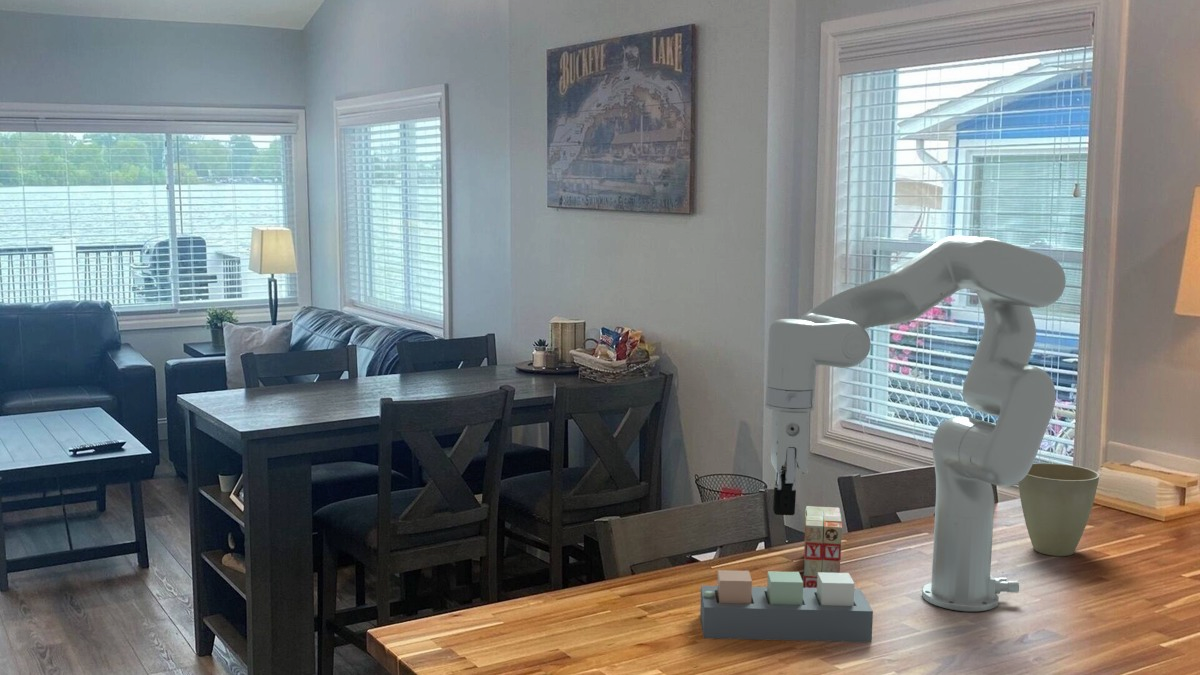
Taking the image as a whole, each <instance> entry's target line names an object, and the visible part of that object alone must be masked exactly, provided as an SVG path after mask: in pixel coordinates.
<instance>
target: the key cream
mask: <svg viewBox="0 0 1200 675" xmlns="http://www.w3.org/2000/svg"><path fill="white" fill-rule="evenodd" d="M854 589H855V582H854V580H853V578H852V576H851V575H850V572H840V573H825V572H818V574H817V601H818V603H819V605H831V606H854Z"/></svg>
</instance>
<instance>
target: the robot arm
mask: <svg viewBox="0 0 1200 675" xmlns="http://www.w3.org/2000/svg"><path fill="white" fill-rule="evenodd" d="M1065 288H1066V274H1065V271H1064V269H1063V267H1062V266H1061V264H1060V263H1059V262H1058V261H1057V260H1056V259H1055V258H1053V257H1051V256H1049V255H1046V254H1044V253H1041V252H1037V251H1034V250H1030V249H1027V248H1025V247H1021V246H1018V245H1015V244H1012V243H1009V242H1006V241H1003V240H999V239H995V238H991V237H983V236H980V237H979V236H966V235H952V236H947V237H944V238H942V239H940V240H938V241H936V242H935V243H934V244H932V245H930V246H929V247H927V248H926V249H924V250H923V251H921V252H919V253H918V254H916V255H915V256H914V257H912V258H910V259H909V260H908V261H906V262H905V263H903V264H902V265H901V264H900V266H898V267H897V268H896V269H893V270H892V271H890V272H889V273H887V274H886V275H885V274H884V275H883V276H880V277H878V278H875V279H872V280H869V281H867V282H864V283H862V284H859V285H857V286H853V287H851V288H848V289H845V290H843V291H841V292H839V293H837V294H834V295H832V296H830V297H829V298H827V299H825V300H824V301H821V303H819V304H818V305H816V306H814V307H813V308H811V309H810V310H809V311H807V312H806V313H804V314H803V315H802V316H801V317H800V318H798V319H797V318H781V319H776V320H774V321H772V323H771V324H770V326H769V329H768V346H767V347H768V348H767V365H766V368H767V369H766V383H765V385H766V386H765V402H764V404H765V406H764V407H765V408H766V409H769V410H771V422H770V423H771V425H770V426H771V427H770V443H769V444H770V462H771V465H772V467H773V469H774V470H775V478H774V479H775V481H774V482H775V483H774V488H773V505H772V511H773V513H774V514H775V515H776V516H777V515H778V516H794V515H795V514H796V497H797V490H796V488H797V486H796V485H797V484H796V483H797V475H798V473H797V472H798V471H799V472H800V473H801V474H802V476H805V475H807V474H808V473H809V437H810V436H809V433H810V432H809V428H810V427H809V425H810V424H809V413H810V412H812V411H814V409H815V394H816V380H817V378H816V377H817V367H818V366H822V367H823V366H824V367H831V368H839V369H849V368H854V367H856V366H858V365H860V364H861V363H862V362H863V361H865V360H866V358H867V357H868V355H869V354H870V350H871V347H872V346H871V343H872V342H871V338H870V335H869V334H868V331H867V330H866V329H869V328H874V327H880V326H888V325H889V326H890V325H896V324H902V323H903V324H904V323H906V322H910V321H914V320H916V319H918V318H920V317H921V316H923V315H924V314H926V313H927V312H929V311H930V310H932V309H933V308H934V307H936V306H937V305H939V304H940V303H942V302H944V301H945V300H947V299H948V298H950V297H951V296H953V295H954V294H955V293H956V292H957V293H958V291H961V290H964V289H965V290H973V291H975V293H976V295H977V298H978V299H979V301H980V304H981V306H982V311H983V315H984V316H983V317H984V326H983V330H982V334H981V338H980V340H979V344H978V345H977V348H976V351H975V354H974V356H973V358H972V360H971V364H970V366H969V368H968V372H967V374H966V377H965V379H964V383H963V387H962V396H963V400H964V403H966V405H967V406H968V407H970V408H971V409H972V410H975V411H976V412H980V413H982V414H986V415H990V416H992V417H993V416H994V417H997V420H996V423H992V422H989V421H985V420H981V419H977V418H975V417H969V416H955V417H950V418H948V419H945V420H944V421H943V422H942V423H940V425H938V427H937V429H936V430H935V433H934V435H933V438H932V458H933V464H934V472H935V488H936V490H935V507H934V508H935V509H934V529H933V531H934V532H933V546H932V547H933V548H932V567H931V568H932V569H931V570H932V571H931V582H929V583H926V584H924V585H923V587H922V588H921V597H922V598H923V599H924V600H925V601H926V602H928V603H929V604H931V605H934V606H937V607H939V608H943V609H946V610H953V611H959V612H960V611H961V612H985V611H989V610H992V609H994V608H996V607H997V606H998V605H999V599H1000V598H999V595H1000V593H1001V592H1003V593H1005V592H1006V593H1016V594H1017V593H1019V591H1020V584H1019V582H1018V580H1007V577H994V575H992V573H991V570H992V555H993V554H992V551H993V533H994V532H993V530H994V515H995V495H994V494H995V493H994V490H993V486H992V485H994V486H998V487H1005V488H1006V487H1013V486H1015V485H1019V484H1018V483H1019V482H1020V481H1022V480H1023V479H1024V478H1025V476H1026V475H1027V474H1028V472H1029V471H1030V469H1031V467H1032V465H1033V463H1034V462H1035V459H1036V457H1037V455H1038V452H1039V449H1040V446H1041V444H1042V442H1043V439H1044V438H1045V437H1044V436H1045V434H1046V432H1047V429H1048V426H1049V423H1050V421H1051V418H1052V416H1053V414H1054V413H1053V412H1054V409H1055V406H1056V388H1055V383H1054V381H1053V379H1052V378H1051V376H1050V374H1049V373H1047V371H1045V370H1044V369H1042V368H1040V367H1038V366H1035V365H1031V364H1029V362H1030V358H1031V356H1032V352H1033V350H1034V346H1035V343H1036V338H1037V328H1036V326H1037V325H1036V322H1035V319H1034V315H1033V312H1032V310H1031V308H1046V307H1049V306H1051V305H1053V304H1054V303H1056V302H1057V301H1058V300H1059V299H1060V298H1061V296H1062V295H1063V293H1064V291H1065Z"/></svg>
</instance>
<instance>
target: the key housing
mask: <svg viewBox="0 0 1200 675" xmlns="http://www.w3.org/2000/svg"><path fill="white" fill-rule="evenodd" d="M699 608H700V622H701V630H702V636H703V639H715V640H716V639H719V640H722V639H723V640H757V641H758V640H762V641H763V640H766V641H799V642H800V641H802V642H808V641H809V642H842V643H843V642H844V643H846V642H848V643H849V642H850V643H851V642H852V643H872V642H873V640H872V639H873V624H874V623H873V617H874V611H873V609H872V606H871V605H870V604H869V601H868V599H867V598H866V596H865V595H864V593H863V591H862V589H861V588H854V606H831V605H819V603H818V601H817V588H803V602H802V605H787V604H768V602H767V586H752V597H751V604H743V603H718V602H717V585H700V607H699Z"/></svg>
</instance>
